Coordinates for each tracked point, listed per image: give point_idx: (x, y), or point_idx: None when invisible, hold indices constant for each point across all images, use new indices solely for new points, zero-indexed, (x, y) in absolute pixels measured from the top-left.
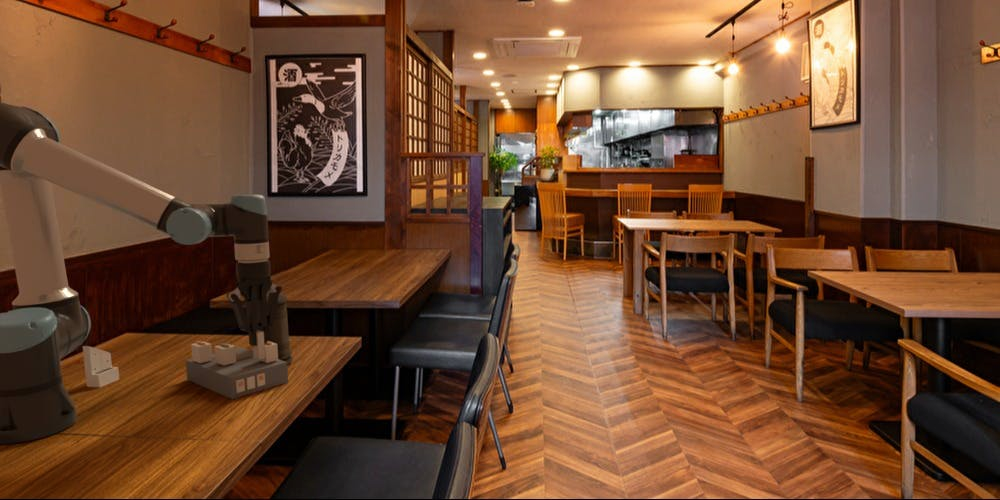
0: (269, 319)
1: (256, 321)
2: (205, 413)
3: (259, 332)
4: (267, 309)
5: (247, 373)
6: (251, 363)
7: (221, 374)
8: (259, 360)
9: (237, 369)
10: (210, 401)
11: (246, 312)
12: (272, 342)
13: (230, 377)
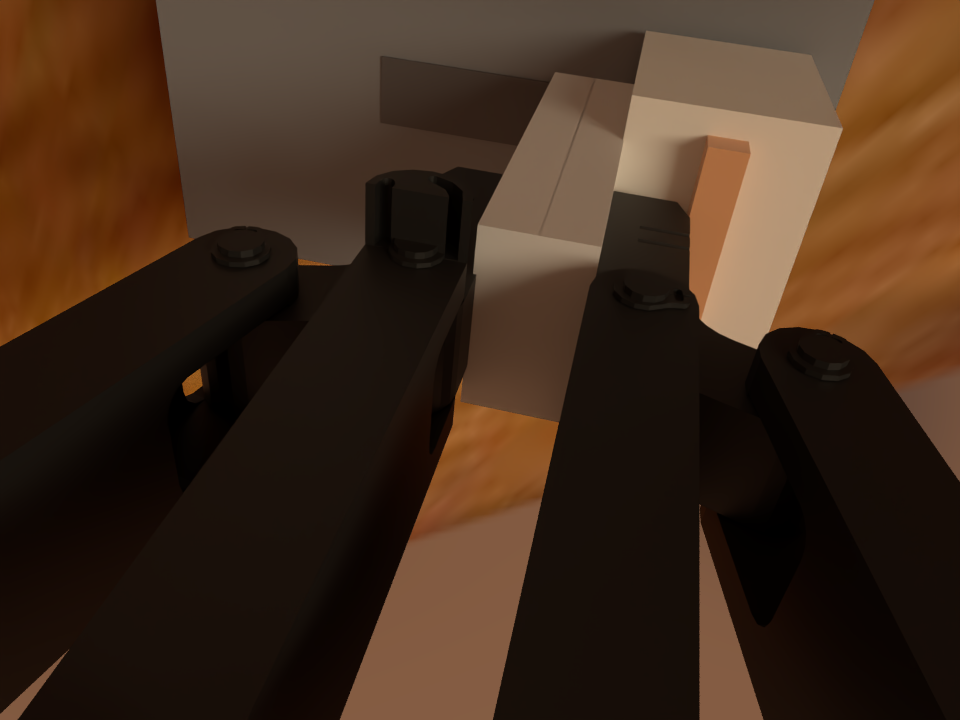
0: (730, 578)
1: (401, 539)
2: (69, 213)
3: (493, 407)
4: (875, 691)
5: (338, 264)
6: (543, 36)
7: (167, 64)
8: (676, 18)
9: (332, 85)
10: (150, 48)
11: (180, 516)
12: (796, 249)
13: (190, 226)
